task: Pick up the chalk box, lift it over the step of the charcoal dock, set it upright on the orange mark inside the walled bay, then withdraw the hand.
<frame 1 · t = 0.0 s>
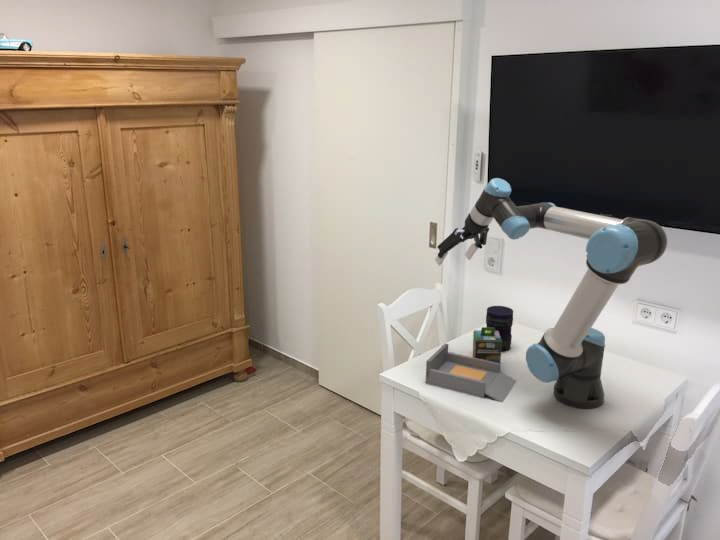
hand: (452, 259, 210), 36 cm above the table, tool tilted 35°, fingers open, 13 cm apart
dock bay: (462, 379, 199), on the table
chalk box: (485, 365, 210), on the table
storage jar: (497, 347, 225), on the table
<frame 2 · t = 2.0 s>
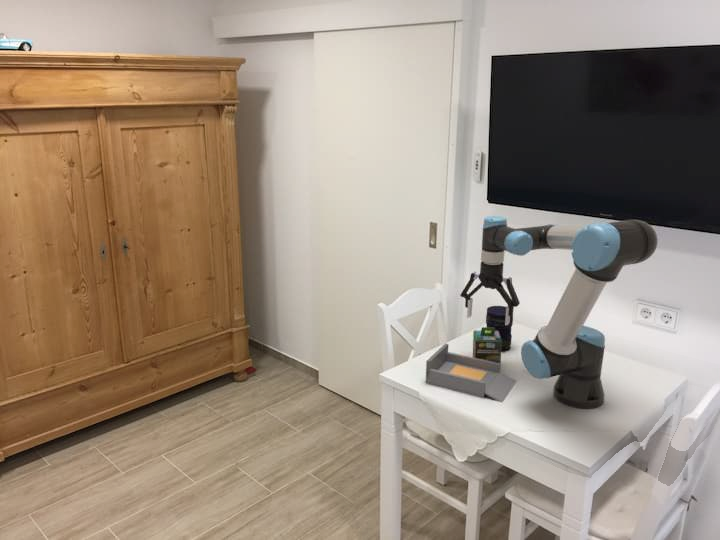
hand: (487, 320, 206), 17 cm above the table, tool pointing down, fingers open, 13 cm apart
nothing on the table moved.
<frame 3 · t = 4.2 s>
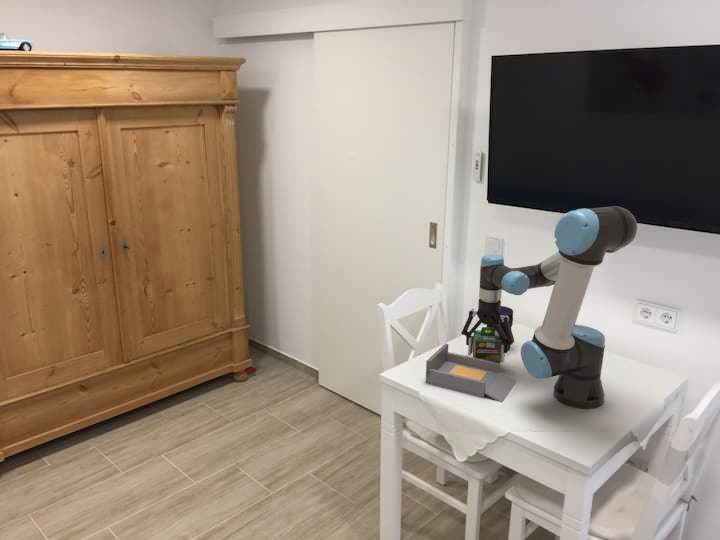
hand: (486, 357, 210), 3 cm above the table, tool pointing down, fingers closed on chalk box, 11 cm apart
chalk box: (485, 365, 210), on the table, touching gripper
everything else where it was.
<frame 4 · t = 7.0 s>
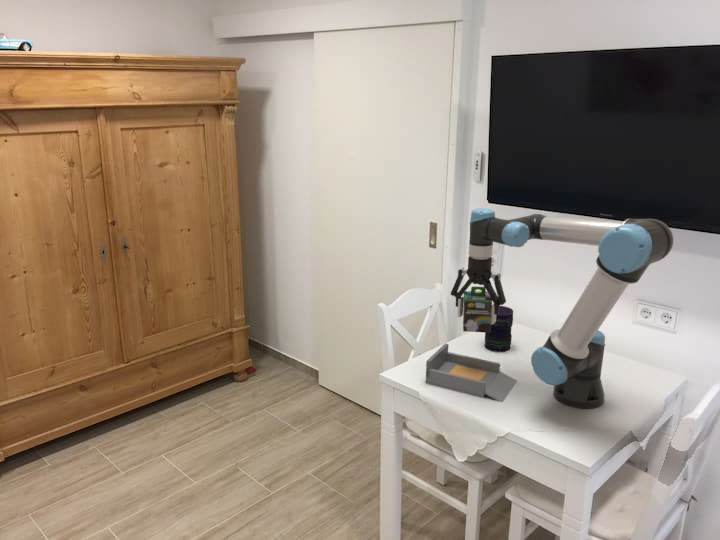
hand: (476, 319, 198), 20 cm above the table, tool pointing down, fingers closed on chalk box, 11 cm apart
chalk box: (476, 328, 199), point 17 cm above the table, touching gripper
everything else where it was.
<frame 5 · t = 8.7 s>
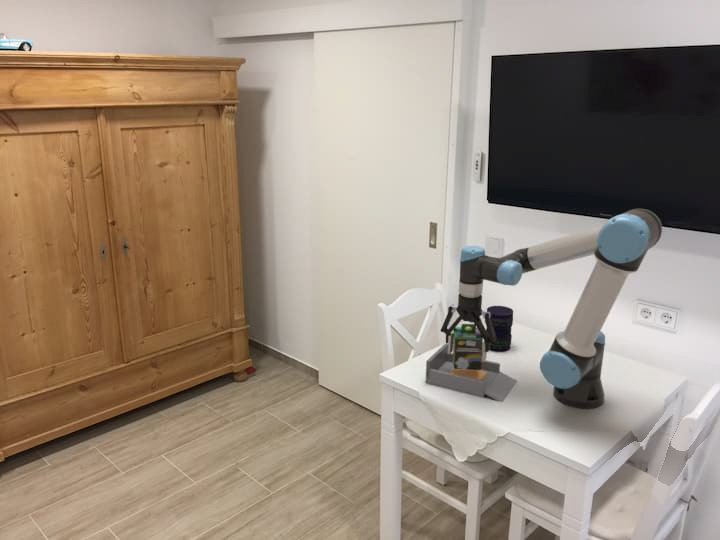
hand: (466, 356, 196), 9 cm above the table, tool pointing down, fingers closed on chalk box, 11 cm apart
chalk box: (466, 364, 197), point 6 cm above the table, touching gripper
everything else where it was.
when the fingers open (6 cm above the table, at t = 10.3 s): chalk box drops 1 cm, resting on dock bay.
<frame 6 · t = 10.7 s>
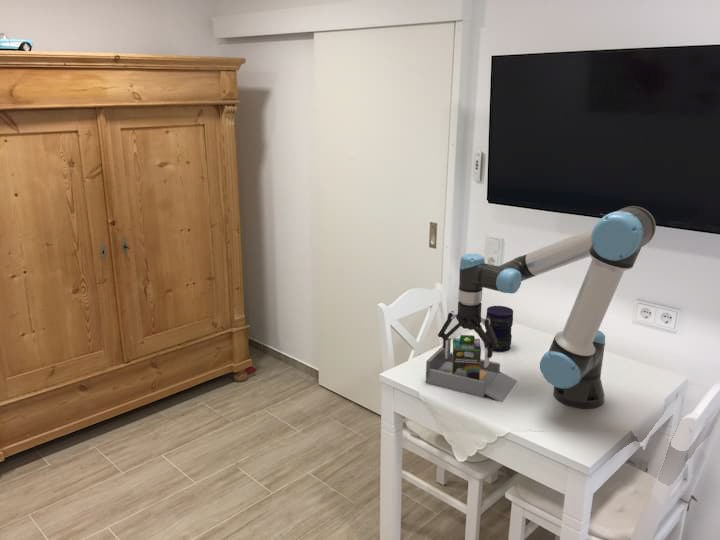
hand: (466, 361, 197), 7 cm above the table, tool pointing down, fingers open, 13 cm apart
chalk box: (465, 375, 198), point 2 cm above the table, touching dock bay
everything else where it was.
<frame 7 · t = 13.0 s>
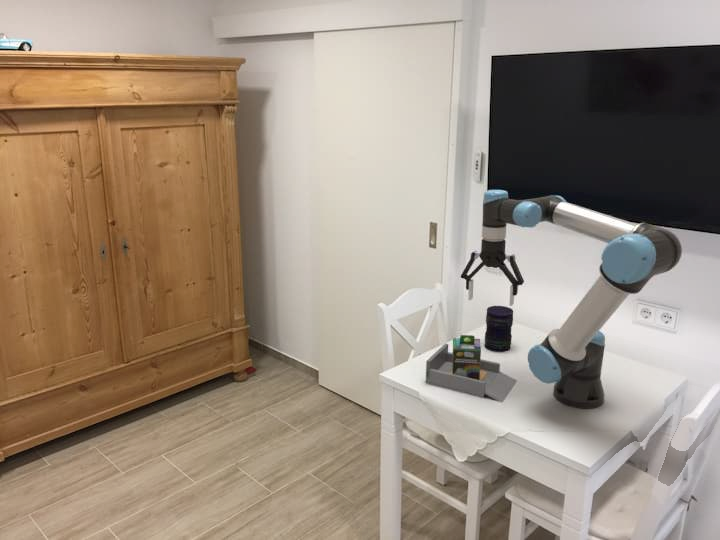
hand: (490, 301, 195), 27 cm above the table, tool pointing down, fingers open, 13 cm apart
nothing on the table moved.
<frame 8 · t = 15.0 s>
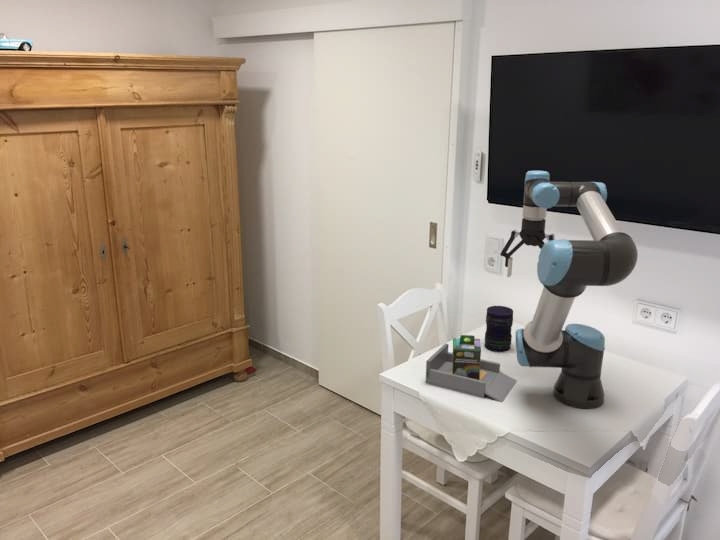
hand: (528, 279, 202), 32 cm above the table, tool pointing down, fingers open, 13 cm apart
nothing on the table moved.
at the end: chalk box inside the target area on the dock bay (0.2 cm from its centre), point 1.9 cm above the dock bay's base; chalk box tilted 0°; the gripper is holding nothing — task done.
